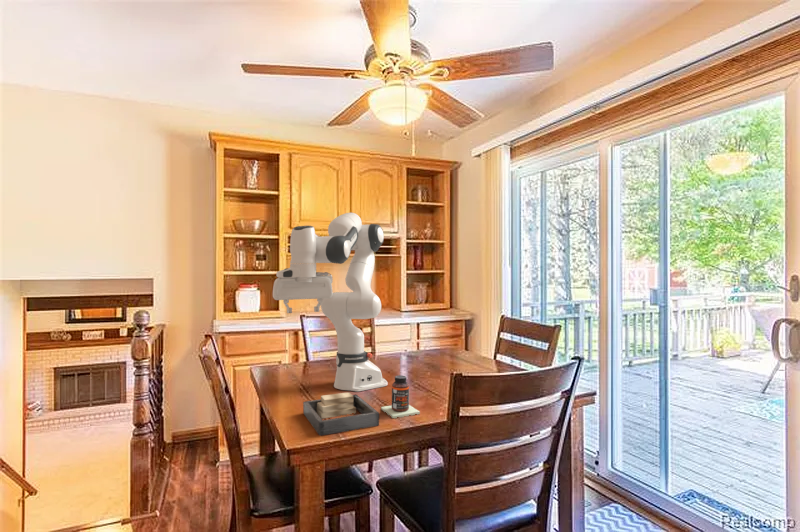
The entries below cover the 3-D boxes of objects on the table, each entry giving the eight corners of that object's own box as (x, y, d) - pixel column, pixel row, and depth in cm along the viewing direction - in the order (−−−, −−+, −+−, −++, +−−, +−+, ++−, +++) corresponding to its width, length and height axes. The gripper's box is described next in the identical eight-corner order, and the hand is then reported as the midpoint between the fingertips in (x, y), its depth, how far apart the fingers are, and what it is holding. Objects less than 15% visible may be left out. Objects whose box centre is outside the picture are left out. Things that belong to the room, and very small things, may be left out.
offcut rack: (356, 405, 153) (356, 394, 153) (379, 425, 134) (379, 412, 134) (303, 413, 145) (303, 401, 145) (319, 435, 126) (319, 422, 126)
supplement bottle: (395, 413, 143) (395, 379, 143) (389, 407, 148) (389, 375, 148) (411, 411, 145) (411, 377, 145) (404, 405, 151) (404, 373, 151)
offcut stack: (349, 408, 151) (349, 391, 151) (356, 413, 145) (356, 396, 145) (316, 413, 145) (316, 396, 145) (321, 419, 140) (321, 401, 140)
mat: (406, 405, 154) (406, 403, 154) (419, 414, 145) (419, 411, 145) (381, 409, 149) (381, 407, 149) (393, 418, 140) (393, 416, 140)
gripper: (329, 271, 155) (329, 310, 155) (271, 272, 146) (271, 312, 146) (335, 272, 149) (335, 311, 149) (274, 272, 140) (274, 314, 140)
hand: (303, 312), depth 147 cm, fingers open, 8 cm apart
